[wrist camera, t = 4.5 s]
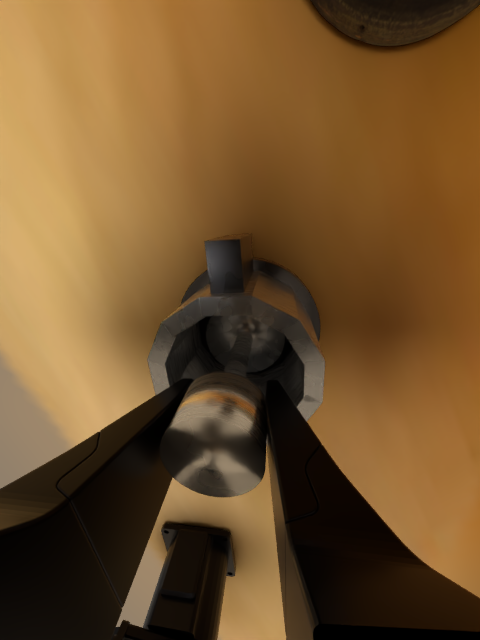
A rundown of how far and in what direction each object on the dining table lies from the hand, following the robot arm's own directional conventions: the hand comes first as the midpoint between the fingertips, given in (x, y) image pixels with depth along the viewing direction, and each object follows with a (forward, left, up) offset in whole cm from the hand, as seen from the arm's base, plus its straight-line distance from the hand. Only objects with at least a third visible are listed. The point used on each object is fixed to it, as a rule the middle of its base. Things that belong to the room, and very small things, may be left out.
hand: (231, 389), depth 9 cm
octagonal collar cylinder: (0, 0, -6) cm, 6 cm away
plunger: (0, 0, -5) cm, 5 cm away
